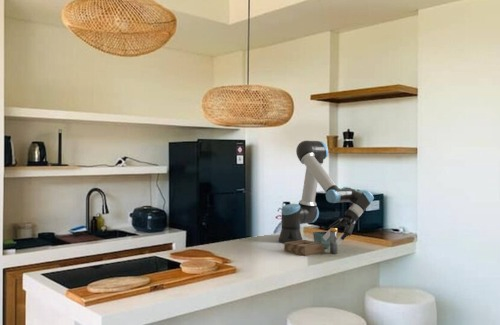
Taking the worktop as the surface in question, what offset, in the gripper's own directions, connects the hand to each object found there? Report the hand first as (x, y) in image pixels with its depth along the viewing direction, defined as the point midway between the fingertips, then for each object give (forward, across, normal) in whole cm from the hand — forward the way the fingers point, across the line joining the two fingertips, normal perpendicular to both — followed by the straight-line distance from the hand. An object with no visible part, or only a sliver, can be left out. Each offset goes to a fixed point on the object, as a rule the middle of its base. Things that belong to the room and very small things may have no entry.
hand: (330, 241), depth 266 cm
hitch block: (+13, +8, +4) cm, 16 cm away
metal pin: (+3, 0, -6) cm, 7 cm away
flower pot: (+2, +16, -8) cm, 18 cm away
